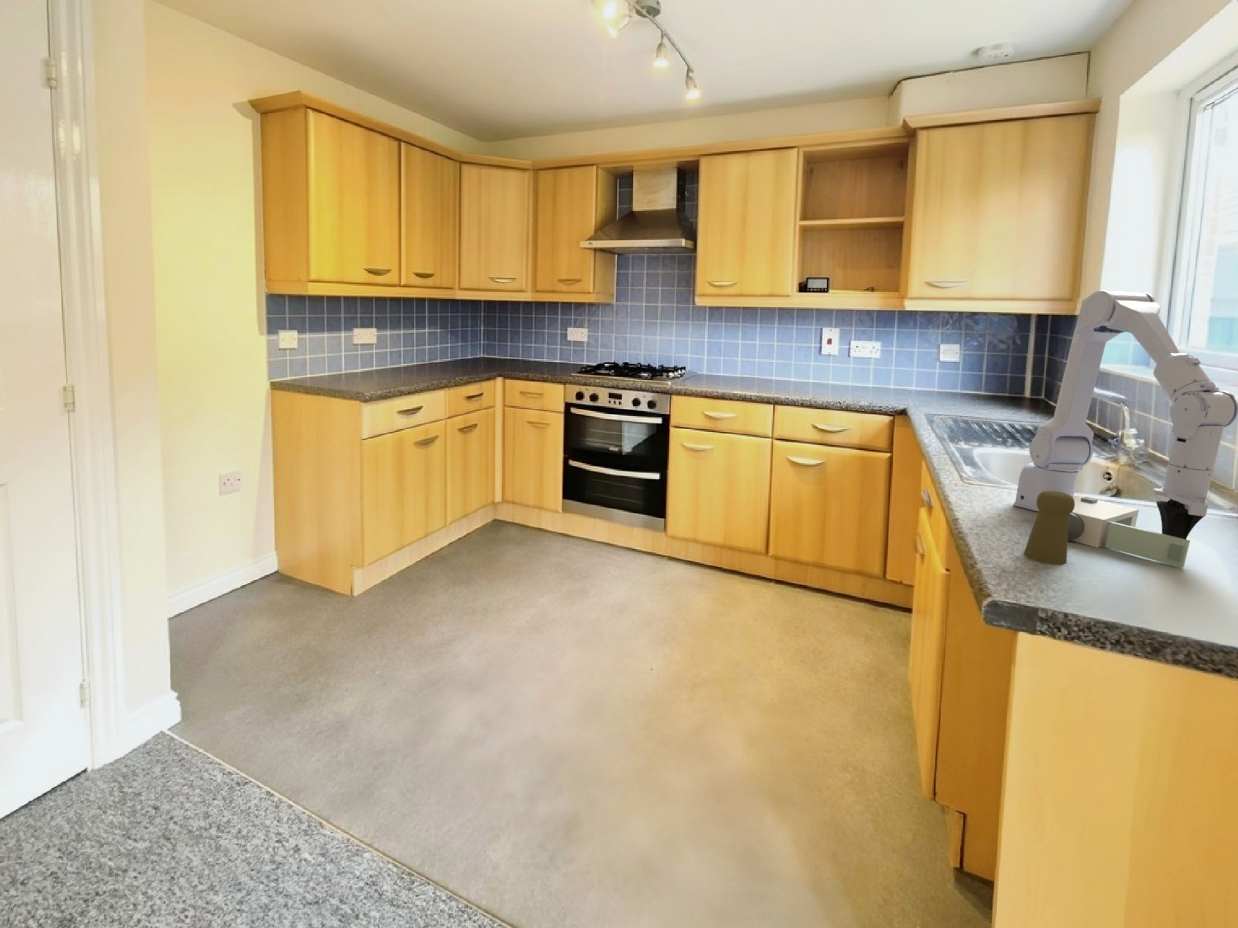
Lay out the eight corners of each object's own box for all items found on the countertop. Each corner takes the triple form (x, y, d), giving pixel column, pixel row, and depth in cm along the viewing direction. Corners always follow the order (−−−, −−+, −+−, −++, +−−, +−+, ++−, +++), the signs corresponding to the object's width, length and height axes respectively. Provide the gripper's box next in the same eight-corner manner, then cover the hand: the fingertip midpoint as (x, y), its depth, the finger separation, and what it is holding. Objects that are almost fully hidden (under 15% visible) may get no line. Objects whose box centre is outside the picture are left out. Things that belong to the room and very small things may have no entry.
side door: (1103, 545, 120) (1108, 520, 119) (1183, 566, 111) (1190, 540, 110) (1099, 546, 119) (1104, 521, 118) (1180, 568, 110) (1187, 541, 109)
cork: (1027, 548, 117) (1039, 485, 115) (1069, 557, 114) (1082, 492, 111) (1020, 557, 113) (1032, 492, 110) (1063, 567, 109) (1077, 499, 107)
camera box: (1033, 532, 126) (1038, 502, 125) (1074, 520, 135) (1079, 492, 134) (1093, 549, 118) (1100, 517, 117) (1133, 535, 127) (1139, 506, 126)
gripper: (1146, 454, 119) (1130, 530, 123) (1175, 472, 106) (1155, 555, 109) (1197, 460, 117) (1179, 536, 120) (1232, 478, 104) (1211, 563, 107)
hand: (1171, 546), depth 115 cm, fingers closed
